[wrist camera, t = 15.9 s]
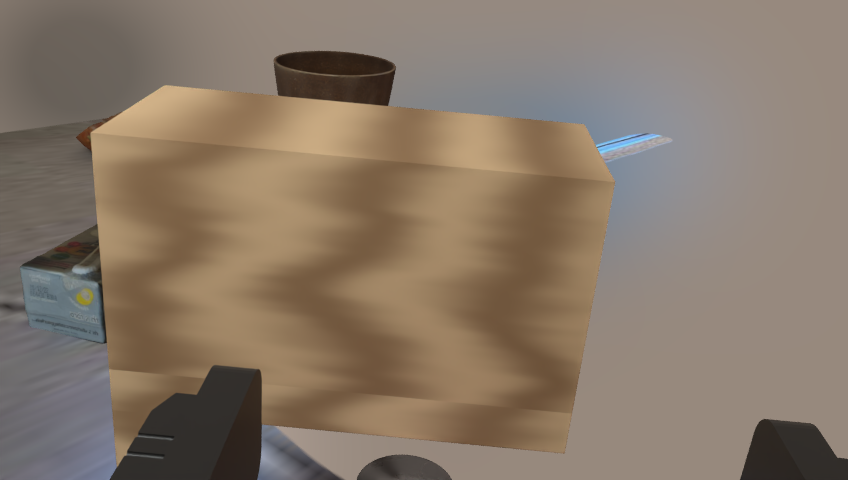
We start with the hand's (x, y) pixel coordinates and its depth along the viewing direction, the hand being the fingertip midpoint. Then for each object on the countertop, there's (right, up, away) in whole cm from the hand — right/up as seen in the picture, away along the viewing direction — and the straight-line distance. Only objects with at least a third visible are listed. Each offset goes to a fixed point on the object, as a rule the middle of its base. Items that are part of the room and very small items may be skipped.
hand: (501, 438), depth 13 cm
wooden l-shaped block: (-6, -17, +30) cm, 35 cm away
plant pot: (-13, +10, +93) cm, 95 cm away
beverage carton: (-28, -2, +62) cm, 69 cm away
